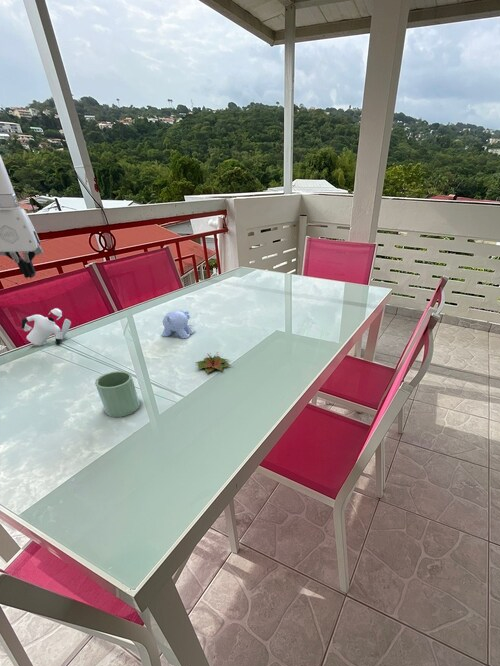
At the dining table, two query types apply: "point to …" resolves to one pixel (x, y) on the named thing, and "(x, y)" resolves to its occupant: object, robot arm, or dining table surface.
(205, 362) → the lily flower
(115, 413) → the green hollow cylinder
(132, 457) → the dining table surface
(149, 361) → the dining table surface
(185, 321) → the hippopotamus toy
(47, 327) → the cricket player figurine
